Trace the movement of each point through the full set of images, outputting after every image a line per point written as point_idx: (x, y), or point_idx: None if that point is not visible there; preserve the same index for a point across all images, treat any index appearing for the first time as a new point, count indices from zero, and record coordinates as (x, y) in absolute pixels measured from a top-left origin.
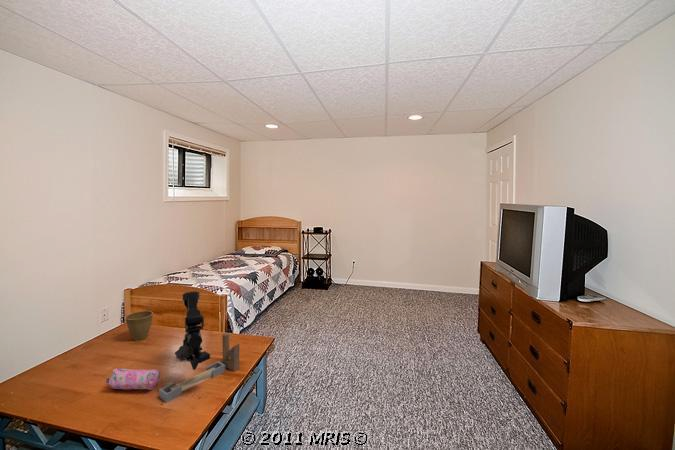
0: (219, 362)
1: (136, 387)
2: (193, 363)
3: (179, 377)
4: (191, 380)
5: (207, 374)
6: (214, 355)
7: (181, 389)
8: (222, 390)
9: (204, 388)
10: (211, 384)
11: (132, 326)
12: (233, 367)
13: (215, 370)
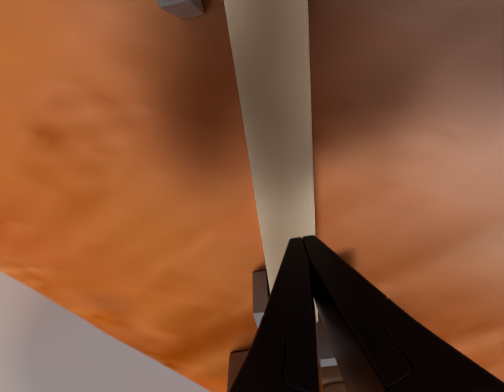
0: (332, 363)
1: None
2: (252, 346)
3: (482, 93)
4: (265, 153)
5: (267, 270)
6: (488, 342)
7: (168, 9)
8: (69, 265)
9: (157, 197)
10: (178, 243)
11: None
12: (233, 376)
13: (256, 322)
